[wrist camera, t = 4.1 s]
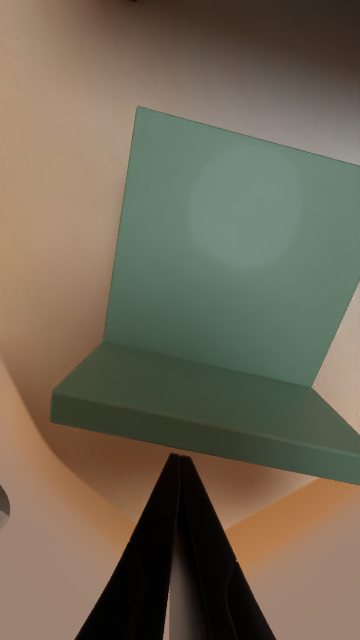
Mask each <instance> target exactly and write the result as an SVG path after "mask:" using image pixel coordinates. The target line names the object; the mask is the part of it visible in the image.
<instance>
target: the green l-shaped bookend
mask: <svg viewBox="0 0 360 640" xmlns="http://www.w3.org/2000/svg"><path fill="white" fill-rule="evenodd" d="M359 281H360V166H358V165H354V164H351V163H347V162H343V161H340V160H336V159H332V158H329V157H325V156H321V155H317V154H314V153H310V152H306V151H303V150H299V149H295V148H291V147H288V146H284V145H280V144H277V143H273V142H269V141H265V140H262V139H258V138H254V137H251V136H247V135H243V134H239V133H236V132H232V131H228V130H225V129H221V128H217V127H214V126H210V125H206V124H202V123H199V122H195V121H191V120H188V119H184V118H180V117H176V116H173V115H169V114H165V113H162V112H158V111H154V110H150V109H147V108H143V107H139V106H138V107H137V109H136V115H135V122H134V129H133V136H132V143H131V150H130V157H129V164H128V171H127V178H126V185H125V191H124V198H123V205H122V212H121V219H120V226H119V233H118V240H117V247H116V254H115V261H114V268H113V275H112V282H111V288H110V295H109V302H108V309H107V316H106V323H105V330H104V337H103V342H102V343H101V344H100V345H99V346H98V347H97V348H96V349H95V350H94V351H92V352H91V353H90V354H89V355H88V356H87V357H86V358H85V359H84V360H83V361H82V362H81V363H80V364H79V365H78V366H77V367H76V368H75V369H74V370H73V371H72V372H71V373H70V374H69V375H68V376H67V377H66V378H65V379H64V380H63V381H62V382H60V383H59V384H58V385H57V386H56V387H55V388H54V389H53V391H52V397H51V409H50V422H52V423H56V424H61V425H65V426H70V427H75V428H80V429H85V430H90V431H95V432H100V433H105V434H110V435H115V436H119V437H124V438H129V439H134V440H139V441H144V442H149V443H154V444H159V445H164V446H168V447H173V448H178V449H183V450H188V451H193V452H198V453H203V454H208V455H213V456H218V457H222V458H227V459H232V460H237V461H242V462H247V463H252V464H257V465H262V466H267V467H271V468H276V469H281V470H286V471H291V472H296V473H301V474H306V475H311V476H316V477H321V478H325V479H330V480H335V481H341V482H345V483H350V484H355V485H360V435H359V434H358V433H357V432H356V431H355V430H354V429H353V428H352V427H351V426H350V425H349V424H348V423H347V422H346V421H345V420H344V419H343V418H342V417H341V416H340V415H339V414H338V413H337V412H336V411H335V410H334V409H333V408H332V407H331V406H330V405H329V404H328V403H327V402H326V401H325V400H324V399H323V398H322V397H321V396H320V395H319V394H318V393H317V392H316V391H315V390H314V389H312V388H311V387H312V385H313V383H314V380H315V378H316V376H317V374H318V372H319V369H320V367H321V365H322V363H323V361H324V358H325V356H326V354H327V352H328V349H329V347H330V345H331V343H332V341H333V338H334V336H335V334H336V332H337V330H338V327H339V325H340V323H341V321H342V319H343V316H344V314H345V312H346V310H347V307H348V305H349V303H350V301H351V299H352V296H353V294H354V292H355V290H356V288H357V285H358V283H359Z"/></svg>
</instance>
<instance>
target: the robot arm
mask: <svg viewBox="0 0 360 640" xmlns="http://www.w3.org/2000/svg"><path fill="white" fill-rule="evenodd" d="M169 585H170V620H169V623H170V624H169V629H170V630H169V640H276V638H275V636H274V634H273V633H272V631H271V629H270V627H269V625H268V623H267V621H266V619H265V617H264V615H263V613H262V612H261V610H260V608H259V606H258V604H257V602H256V600H255V598H254V595H253V593H252V591H251V589H250V587H249V585H248V583H247V581H246V579H245V577H244V574H243V572H242V570H241V567H240V565H239V563H238V562H236V557H235V554H234V552H233V550H232V548H231V545H230V543H229V541H228V539H227V537H226V534H225V532H224V530H223V528H222V525H221V523H220V521H219V519H218V516H217V514H216V512H215V510H214V508H213V505H212V503H211V501H210V499H209V496H208V494H207V492H206V490H205V488H204V485H203V483H202V481H201V479H200V476H199V474H198V472H197V470H196V468H195V465H194V463H193V461H192V459H191V457H190V456H185V455H181V456H180V455H179V454H175V453H170V455H169V457H168V459H167V461H166V463H165V466H164V468H163V470H162V472H161V474H160V476H159V478H158V480H157V483H156V485H155V487H154V489H153V491H152V493H151V495H150V497H149V500H148V502H147V504H146V506H145V508H144V510H143V512H142V514H141V517H140V519H139V521H138V523H137V525H136V527H135V529H134V532H133V534H132V536H131V538H130V541H129V542H128V544H127V546H126V548H125V550H124V552H123V554H122V557H121V559H120V561H119V563H118V565H117V567H116V569H115V570H114V572H113V574H112V576H111V578H110V580H109V582H108V584H107V585H106V587H105V589H104V591H103V593H102V594H101V596H100V598H99V599H98V601H97V603H96V604H95V607H94V608H93V609H92V611H91V613H90V614H89V616H88V618H87V619H86V621H85V623H84V624H83V626H82V628H81V629H80V631H79V633H78V635H77V636H76V638H75V639H74V640H163V633H164V625H165V617H166V608H167V601H168V593H169Z"/></svg>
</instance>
